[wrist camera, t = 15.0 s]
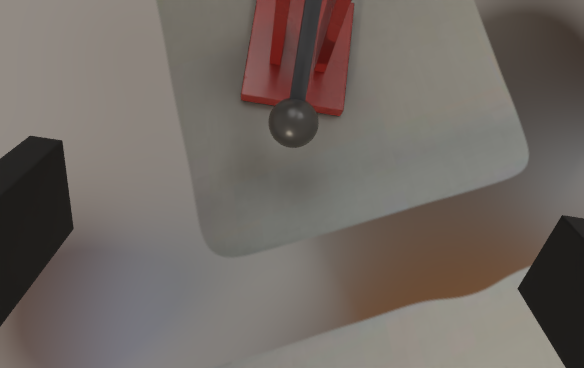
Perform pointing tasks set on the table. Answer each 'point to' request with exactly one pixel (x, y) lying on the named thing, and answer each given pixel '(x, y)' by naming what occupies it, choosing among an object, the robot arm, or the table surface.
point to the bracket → (283, 47)
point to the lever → (299, 88)
